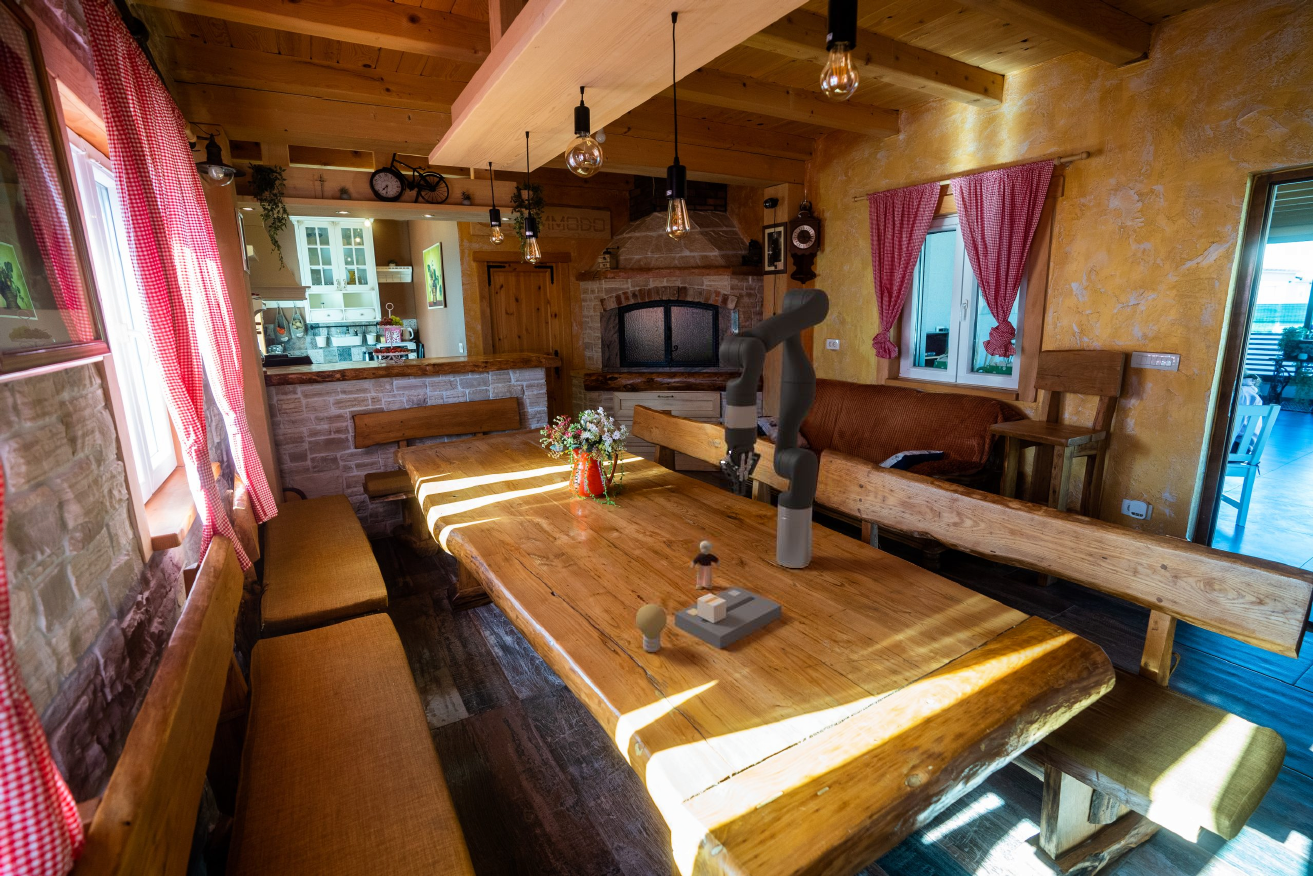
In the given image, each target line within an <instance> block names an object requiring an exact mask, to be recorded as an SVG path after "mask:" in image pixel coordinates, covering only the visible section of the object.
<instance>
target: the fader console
mask: <svg viewBox="0 0 1313 876" xmlns="http://www.w3.org/2000/svg"><path fill="white" fill-rule="evenodd" d="M714 595H715V596H718V597H719V598H721V599H724V600H726V617H725V618H723V619H721V620H719V621H717V622H715V623H712V622H710V621H708V620H706V619H704V618H702V617H700V616H698V615H697V603H695V604H692V605H690V606H688V607H686V608H683V609H681V610H679V611H677V612H675V613H674V626H675V627H677V628H679V629H681V630H683V631H685V632H687V633H688V634H690V635H692V636H694V637H696V638H698V639H700V640H702V641H703V642H705V643H707V644H709V645H710V646H713V647H715V648H717V649H718V650H722V649H724V648H726V647H727V646H729V645H731V644H733V643H735V642H737V641H739V640H740V639H742V638H745V637H747V636H748V635H750V634H752V633H754V632H756V631H758V630H760V629H761V628H763V627H766V626H767V625H769V624H771V623H773V622H775V621H776V620H778V619H780V618H782V612H783V611H782V604H780V603H778V602H776V601H773V600H771V599H768V598H766V597H764V596H762V595H759V594H757V593H754V592H751V591H749V590H748V589H745V588H744V587H743V588H742V587H740V586H738V585H735V586H732V587H730V588H727V589H726V590H723V591H721V592H719V593H717V594H714ZM779 617H780V618H779ZM777 618H778V619H777ZM774 620H775V621H774ZM772 621H773V622H772ZM770 622H771V623H770ZM768 623H769V624H768ZM766 624H767V625H766ZM759 628H760V629H759ZM757 629H758V630H757ZM744 636H745V637H744Z"/></svg>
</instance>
